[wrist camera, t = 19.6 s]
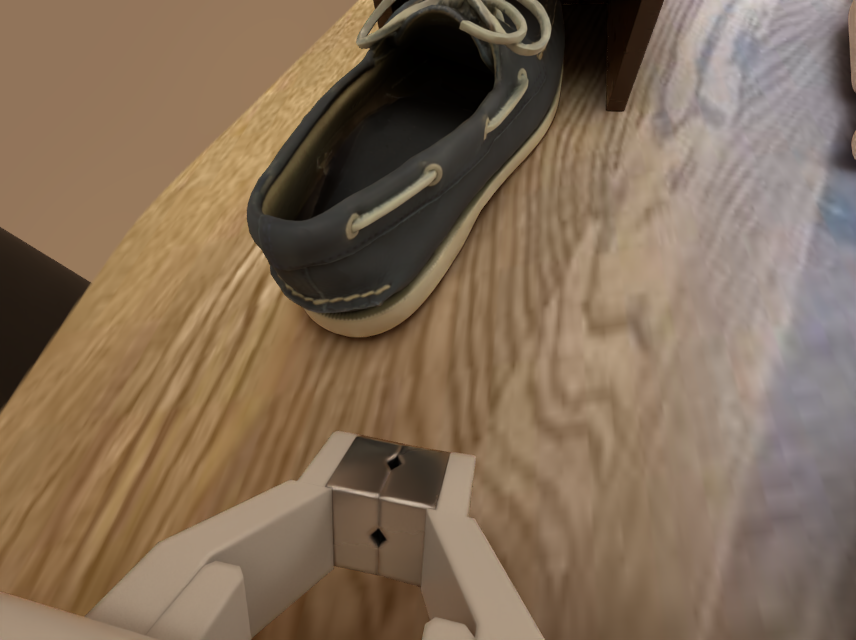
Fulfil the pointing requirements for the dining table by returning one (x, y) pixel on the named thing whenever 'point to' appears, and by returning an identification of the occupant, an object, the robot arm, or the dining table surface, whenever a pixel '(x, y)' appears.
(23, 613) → the robot arm
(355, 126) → the boat shoe
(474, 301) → the dining table surface
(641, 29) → the dark wooden box
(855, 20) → the binoculars
